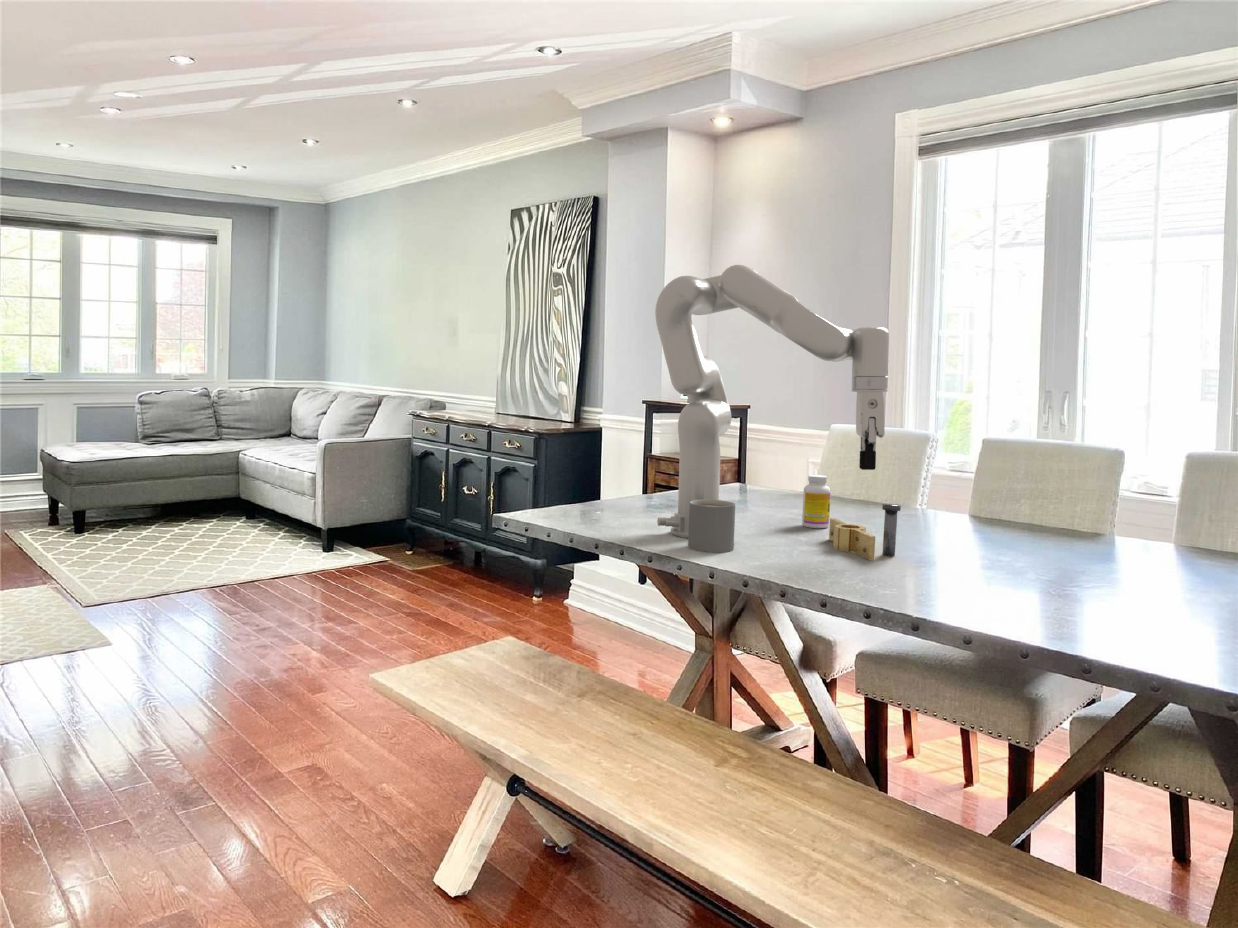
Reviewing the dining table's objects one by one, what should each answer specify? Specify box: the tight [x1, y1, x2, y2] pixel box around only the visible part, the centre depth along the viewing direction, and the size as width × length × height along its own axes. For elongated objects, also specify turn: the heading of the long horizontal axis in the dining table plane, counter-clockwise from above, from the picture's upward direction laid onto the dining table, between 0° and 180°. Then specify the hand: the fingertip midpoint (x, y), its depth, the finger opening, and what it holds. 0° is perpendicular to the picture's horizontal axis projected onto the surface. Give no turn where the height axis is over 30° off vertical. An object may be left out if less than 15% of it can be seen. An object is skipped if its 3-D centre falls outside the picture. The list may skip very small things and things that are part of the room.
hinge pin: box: [881, 503, 902, 558], centre depth 201 cm, size 4×4×11 cm
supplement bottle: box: [801, 474, 832, 529], centre depth 233 cm, size 7×7×13 cm
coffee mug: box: [687, 499, 736, 554], centre depth 205 cm, size 13×10×10 cm
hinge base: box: [833, 523, 876, 561], centre depth 203 cm, size 6×14×5 cm, turn 10°
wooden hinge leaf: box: [828, 517, 847, 543], centre depth 214 cm, size 7×2×5 cm, turn 9°
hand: (867, 469), depth 203 cm, fingers closed
